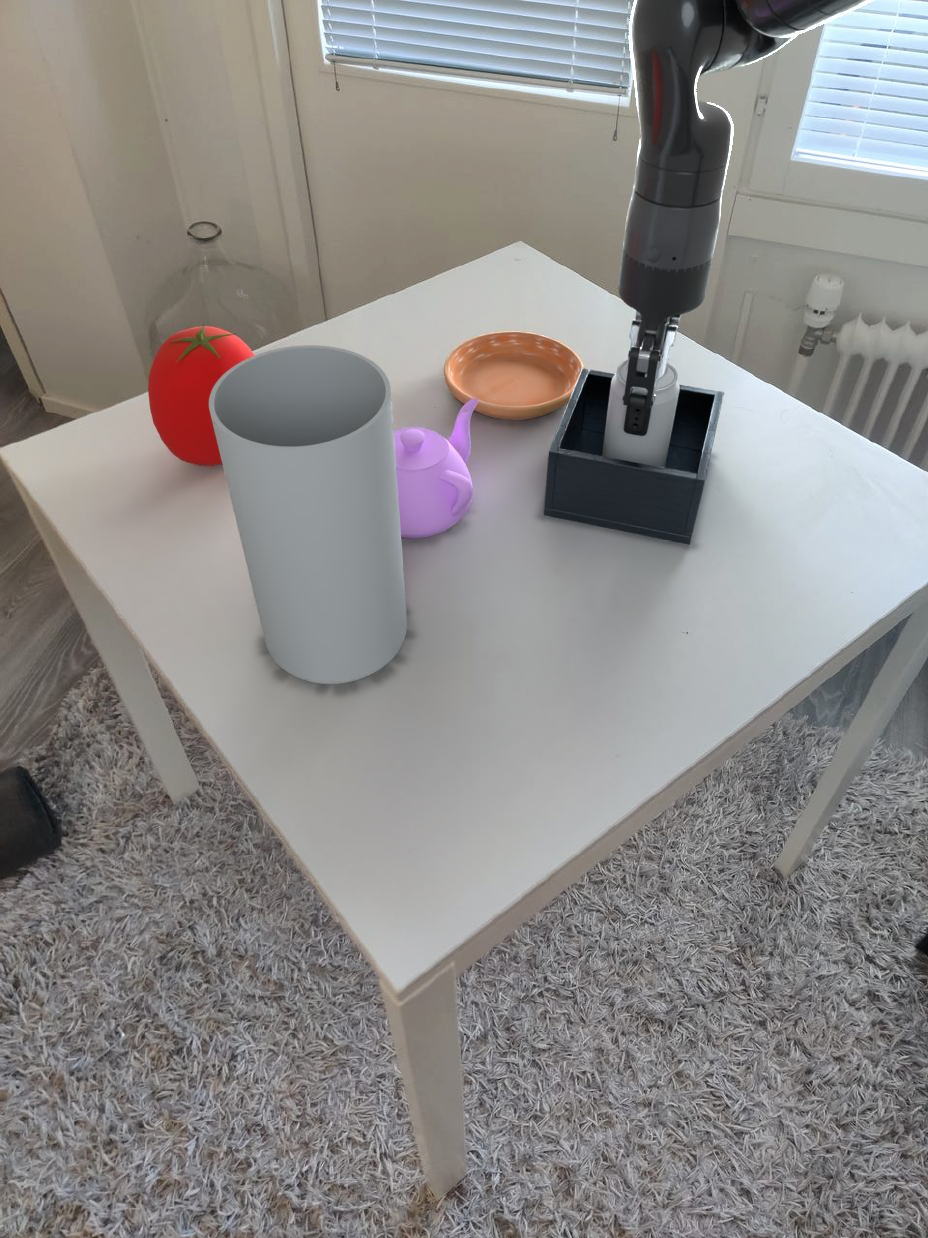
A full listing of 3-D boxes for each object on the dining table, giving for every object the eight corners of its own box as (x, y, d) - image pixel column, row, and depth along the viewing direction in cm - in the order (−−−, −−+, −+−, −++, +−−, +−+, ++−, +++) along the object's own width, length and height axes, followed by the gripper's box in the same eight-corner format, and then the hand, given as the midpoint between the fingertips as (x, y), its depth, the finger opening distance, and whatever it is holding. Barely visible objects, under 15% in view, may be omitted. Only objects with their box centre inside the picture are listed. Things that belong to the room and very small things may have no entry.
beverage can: (670, 464, 98) (690, 362, 89) (651, 501, 94) (670, 398, 85) (611, 448, 99) (625, 347, 91) (591, 484, 95) (603, 382, 87)
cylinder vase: (370, 706, 78) (340, 467, 60) (239, 663, 82) (172, 424, 63) (429, 604, 86) (419, 365, 68) (308, 569, 89) (266, 331, 71)
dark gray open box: (709, 455, 101) (724, 391, 95) (689, 545, 91) (705, 480, 86) (575, 431, 104) (582, 367, 98) (543, 515, 94) (548, 451, 88)
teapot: (477, 467, 100) (478, 396, 93) (472, 558, 90) (472, 486, 84) (365, 464, 100) (358, 393, 93) (348, 554, 91) (339, 483, 84)
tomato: (204, 500, 96) (171, 380, 86) (143, 451, 101) (105, 333, 91) (301, 446, 102) (282, 328, 92) (239, 403, 108) (214, 286, 97)
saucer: (495, 337, 117) (495, 315, 114) (607, 380, 110) (610, 357, 108) (416, 398, 108) (414, 375, 106) (533, 448, 102) (534, 425, 99)
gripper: (702, 291, 73) (669, 463, 85) (724, 212, 82) (691, 377, 95) (607, 278, 75) (587, 448, 87) (639, 201, 84) (617, 365, 96)
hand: (641, 411), depth 91 cm, fingers closed on beverage can, 6 cm apart
